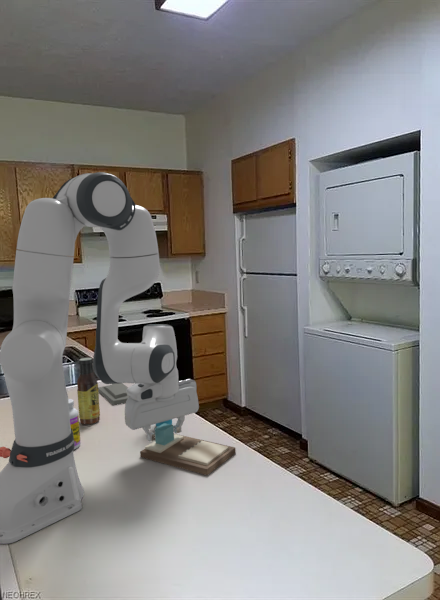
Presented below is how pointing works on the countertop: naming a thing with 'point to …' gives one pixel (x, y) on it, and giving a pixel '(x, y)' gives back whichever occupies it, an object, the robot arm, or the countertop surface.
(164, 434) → the panel
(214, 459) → the board
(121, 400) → the soap mold
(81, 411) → the sauce bottle
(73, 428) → the supplement bottle
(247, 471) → the countertop surface
